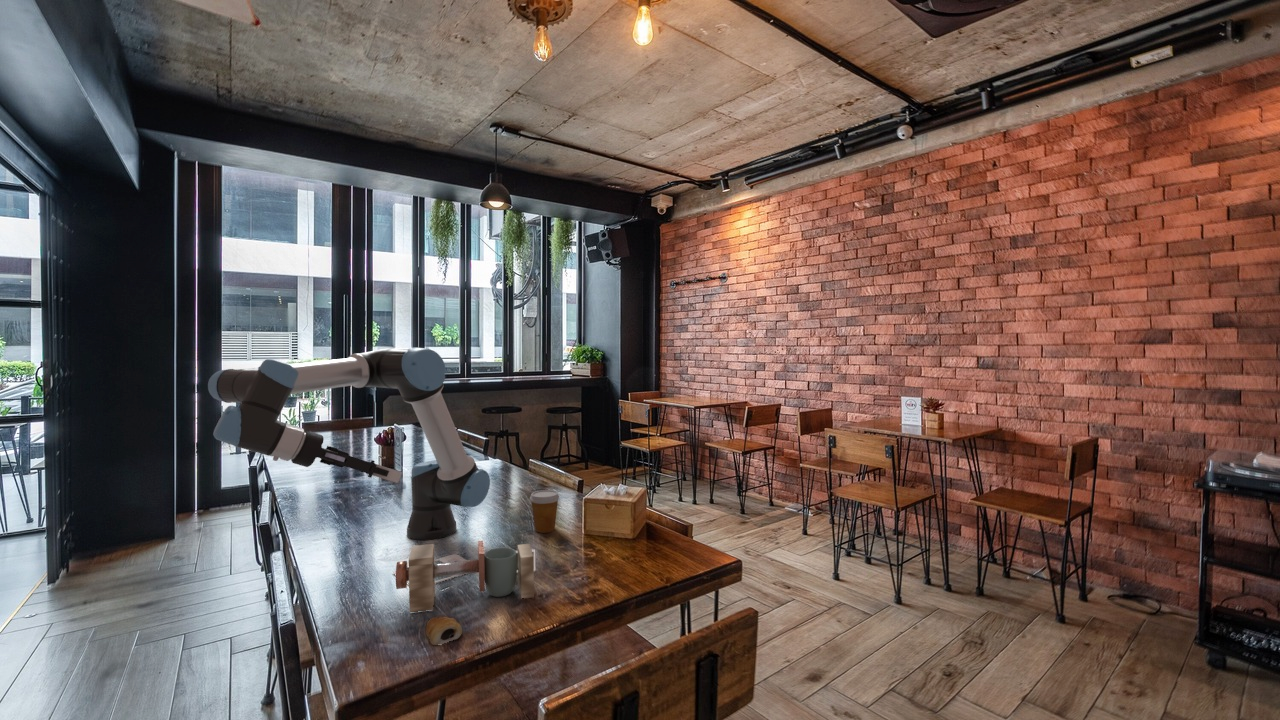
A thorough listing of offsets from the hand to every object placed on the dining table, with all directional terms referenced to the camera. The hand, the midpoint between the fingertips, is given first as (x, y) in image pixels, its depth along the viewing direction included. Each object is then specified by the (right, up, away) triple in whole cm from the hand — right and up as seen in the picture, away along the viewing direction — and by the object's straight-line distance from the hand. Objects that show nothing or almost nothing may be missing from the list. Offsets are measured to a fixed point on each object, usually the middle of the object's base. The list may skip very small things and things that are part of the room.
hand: (399, 477), depth 139 cm
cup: (+25, -29, 0) cm, 38 cm away
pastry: (+17, -30, -20) cm, 40 cm away
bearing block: (+8, -29, -5) cm, 30 cm away
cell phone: (+26, -28, +20) cm, 43 cm away
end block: (+31, -28, +2) cm, 42 cm away
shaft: (+12, -26, -4) cm, 29 cm away
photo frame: (+4, -29, +14) cm, 32 cm away
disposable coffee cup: (+28, -27, +47) cm, 61 cm away
